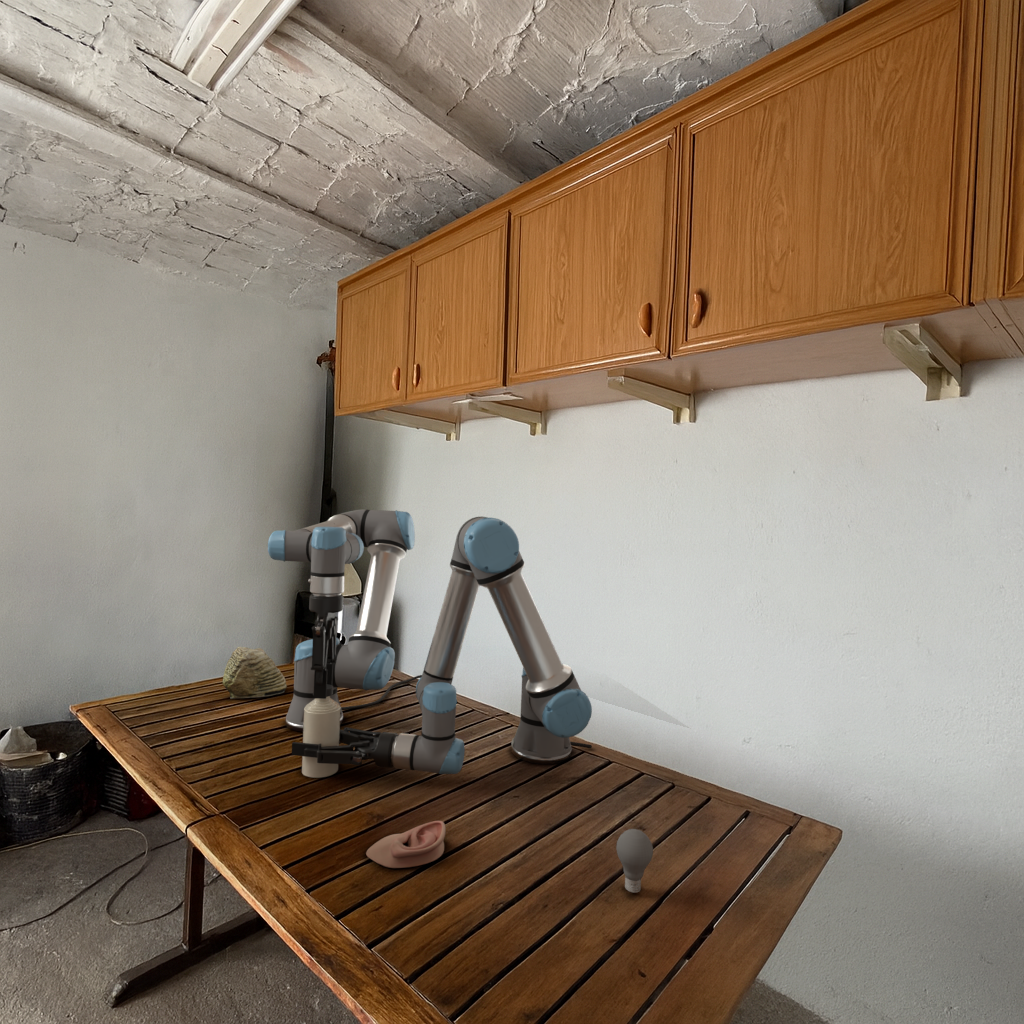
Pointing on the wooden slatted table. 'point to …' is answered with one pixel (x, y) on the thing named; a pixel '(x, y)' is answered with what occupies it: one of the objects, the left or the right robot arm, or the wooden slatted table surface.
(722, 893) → the wooden slatted table surface
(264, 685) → the fossil
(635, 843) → the light bulb
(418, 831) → the anatomical model
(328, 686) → the cap
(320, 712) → the bottle
